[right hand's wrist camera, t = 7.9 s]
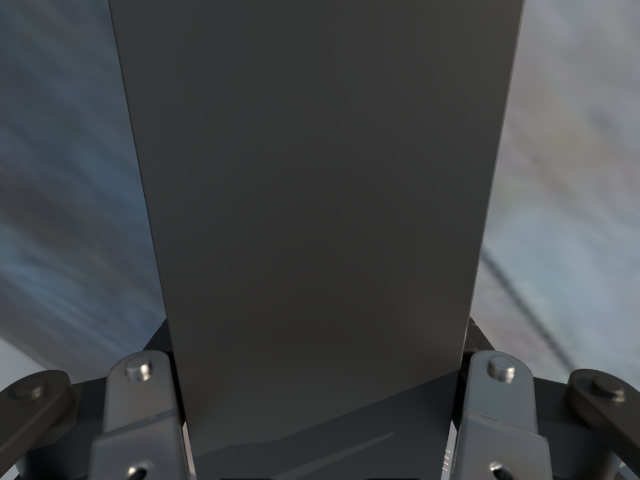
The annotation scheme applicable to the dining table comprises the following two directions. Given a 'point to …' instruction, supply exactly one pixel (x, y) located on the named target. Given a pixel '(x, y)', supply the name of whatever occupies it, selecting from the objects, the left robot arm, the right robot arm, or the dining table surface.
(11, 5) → the dining table surface
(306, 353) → the box
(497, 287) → the dining table surface
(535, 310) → the dining table surface
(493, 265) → the dining table surface
